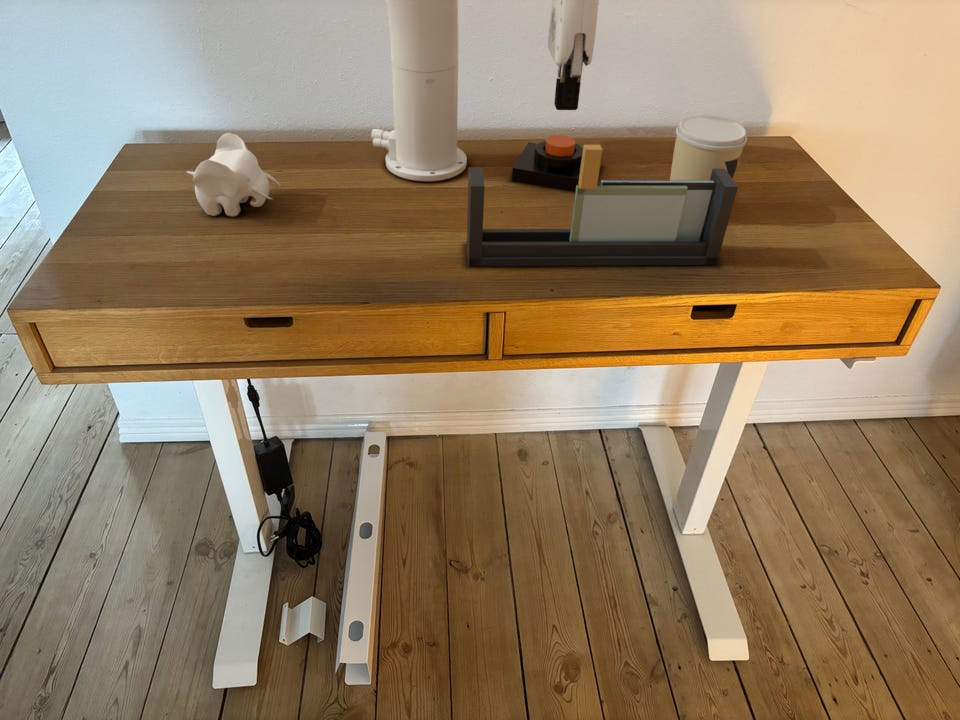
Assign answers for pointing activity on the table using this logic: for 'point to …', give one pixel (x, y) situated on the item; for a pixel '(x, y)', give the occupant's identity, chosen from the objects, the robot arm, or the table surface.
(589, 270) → the table surface
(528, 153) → the switch box
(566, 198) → the table surface
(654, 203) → the sliding pane
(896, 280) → the table surface
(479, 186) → the window frame
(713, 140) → the coffee cup
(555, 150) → the button
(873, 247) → the table surface
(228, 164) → the elephant figurine
